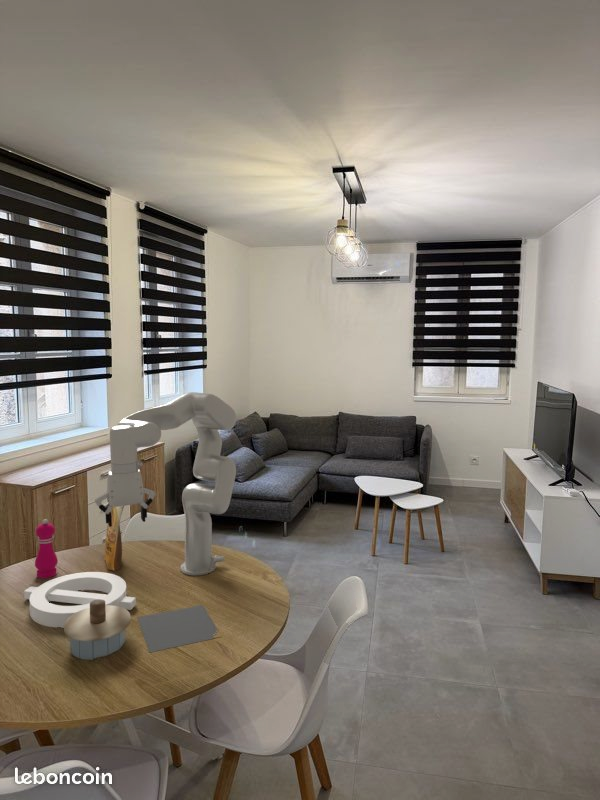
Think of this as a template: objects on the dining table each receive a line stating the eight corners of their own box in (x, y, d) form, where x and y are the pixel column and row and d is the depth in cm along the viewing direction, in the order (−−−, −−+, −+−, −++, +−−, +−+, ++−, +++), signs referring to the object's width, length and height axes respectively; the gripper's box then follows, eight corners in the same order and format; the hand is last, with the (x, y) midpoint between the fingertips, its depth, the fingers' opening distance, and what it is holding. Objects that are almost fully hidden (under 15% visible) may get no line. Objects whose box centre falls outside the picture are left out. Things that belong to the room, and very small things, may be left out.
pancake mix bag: (121, 551, 215) (120, 481, 211) (127, 571, 197) (126, 495, 194) (103, 554, 212) (101, 483, 209) (107, 574, 195) (106, 497, 191)
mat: (202, 606, 173) (202, 604, 173) (221, 638, 155) (221, 636, 155) (137, 618, 165) (137, 617, 165) (149, 654, 147) (149, 652, 147)
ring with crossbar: (22, 599, 176) (21, 584, 175) (110, 578, 192) (110, 565, 192) (40, 639, 153) (39, 622, 153) (139, 611, 170) (138, 597, 169)
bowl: (120, 627, 160) (120, 607, 159) (127, 652, 147) (127, 631, 147) (69, 637, 154) (68, 617, 153) (72, 664, 142) (71, 642, 141)
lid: (125, 604, 161) (125, 584, 161) (135, 632, 146) (135, 611, 145) (62, 615, 154) (61, 595, 153) (65, 646, 139) (65, 624, 138)
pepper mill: (61, 570, 196) (60, 516, 194) (50, 579, 189) (49, 523, 187) (42, 569, 197) (41, 515, 195) (30, 578, 190) (29, 522, 188)
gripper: (151, 461, 170) (153, 514, 173) (92, 467, 162) (94, 523, 165) (156, 467, 163) (158, 522, 166) (94, 474, 156) (97, 531, 158)
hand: (126, 522), depth 165 cm, fingers open, 9 cm apart
